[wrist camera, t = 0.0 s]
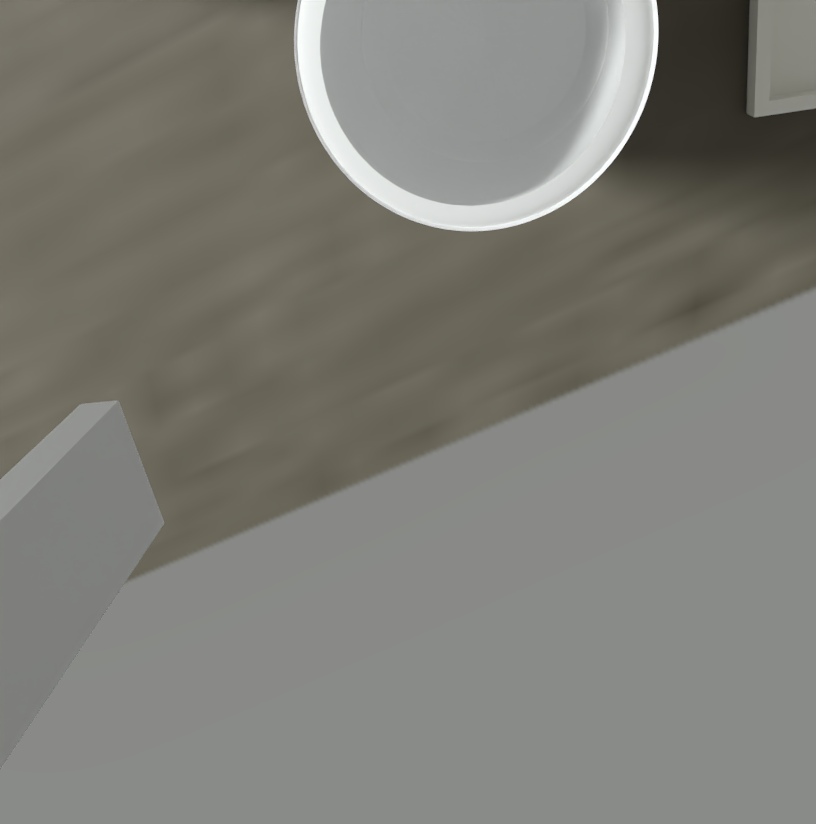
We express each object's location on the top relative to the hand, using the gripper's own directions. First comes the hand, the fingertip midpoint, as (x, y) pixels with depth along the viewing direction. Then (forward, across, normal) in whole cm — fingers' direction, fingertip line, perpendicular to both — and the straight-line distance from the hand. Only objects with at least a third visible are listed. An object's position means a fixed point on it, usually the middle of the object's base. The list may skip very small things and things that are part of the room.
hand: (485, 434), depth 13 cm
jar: (+28, 0, +5) cm, 29 cm away
